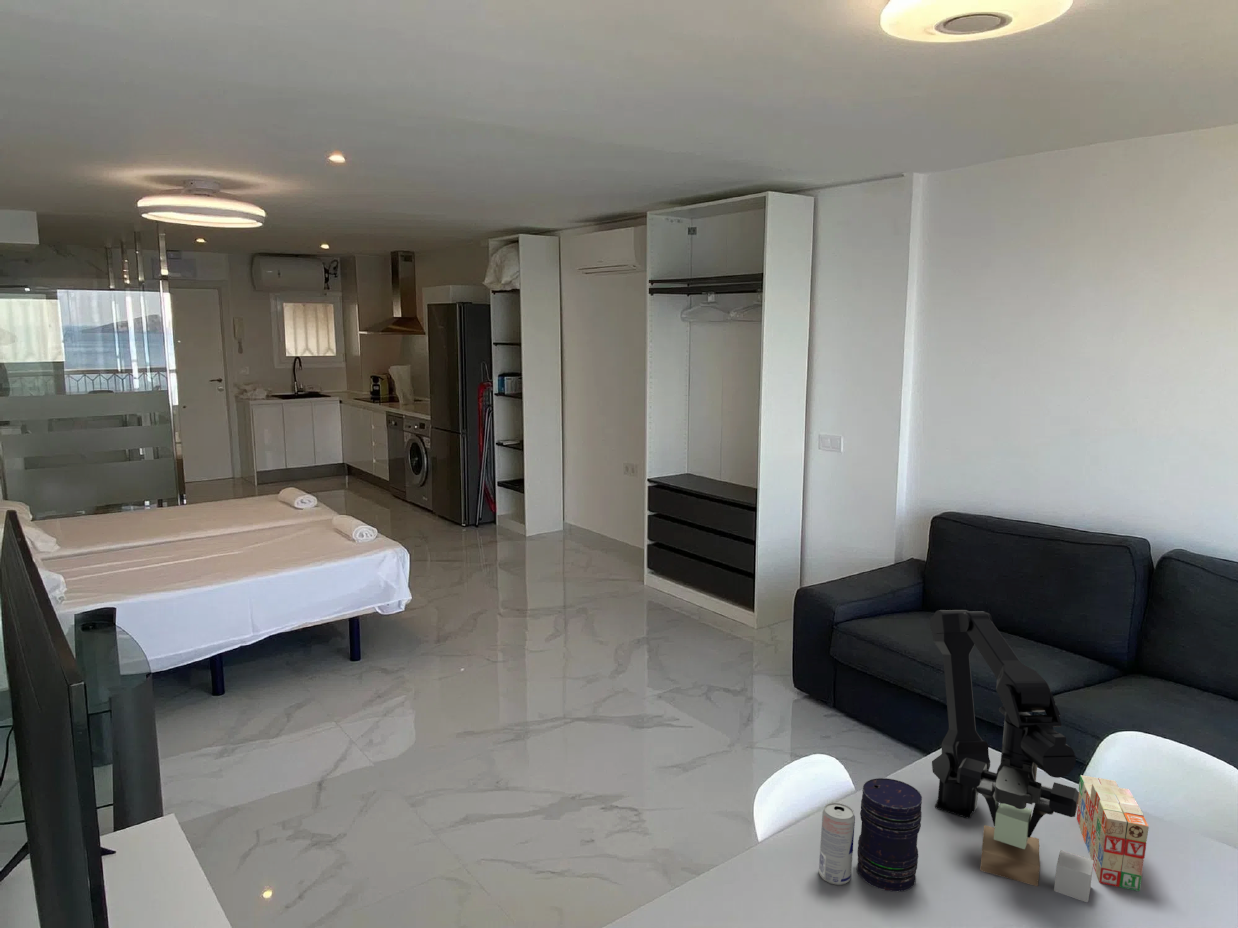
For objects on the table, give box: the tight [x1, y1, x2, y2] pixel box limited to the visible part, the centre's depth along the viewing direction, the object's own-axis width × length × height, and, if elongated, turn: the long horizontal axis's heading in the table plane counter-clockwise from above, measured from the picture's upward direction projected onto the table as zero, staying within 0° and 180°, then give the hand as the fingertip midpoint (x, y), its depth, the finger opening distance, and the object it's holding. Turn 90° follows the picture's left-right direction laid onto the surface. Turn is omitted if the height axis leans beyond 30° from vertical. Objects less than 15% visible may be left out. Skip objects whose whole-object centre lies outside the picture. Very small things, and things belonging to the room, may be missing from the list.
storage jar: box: [856, 777, 923, 893], centre depth 139 cm, size 10×10×15 cm
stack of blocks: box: [1076, 774, 1150, 892], centre depth 148 cm, size 21×6×12 cm, turn 160°
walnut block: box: [979, 824, 1041, 887], centre depth 144 cm, size 9×9×4 cm
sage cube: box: [994, 803, 1033, 849], centre depth 143 cm, size 5×5×5 cm
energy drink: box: [818, 802, 856, 886], centre depth 139 cm, size 5×5×12 cm
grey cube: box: [1053, 849, 1094, 903], centre depth 137 cm, size 5×5×5 cm
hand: (1012, 830), depth 143 cm, fingers closed on sage cube, 5 cm apart
